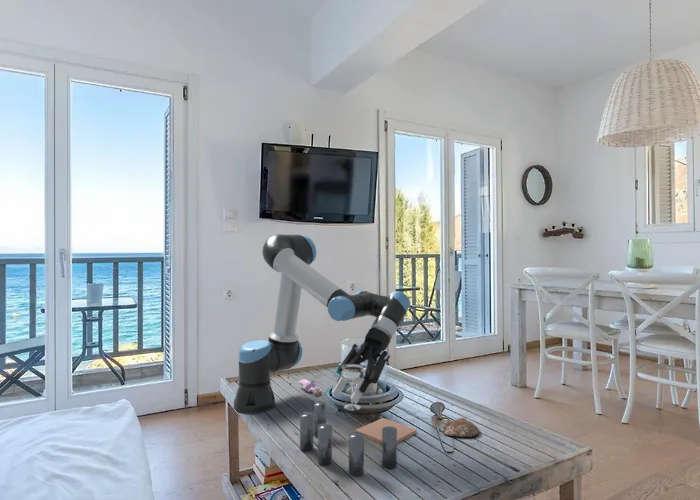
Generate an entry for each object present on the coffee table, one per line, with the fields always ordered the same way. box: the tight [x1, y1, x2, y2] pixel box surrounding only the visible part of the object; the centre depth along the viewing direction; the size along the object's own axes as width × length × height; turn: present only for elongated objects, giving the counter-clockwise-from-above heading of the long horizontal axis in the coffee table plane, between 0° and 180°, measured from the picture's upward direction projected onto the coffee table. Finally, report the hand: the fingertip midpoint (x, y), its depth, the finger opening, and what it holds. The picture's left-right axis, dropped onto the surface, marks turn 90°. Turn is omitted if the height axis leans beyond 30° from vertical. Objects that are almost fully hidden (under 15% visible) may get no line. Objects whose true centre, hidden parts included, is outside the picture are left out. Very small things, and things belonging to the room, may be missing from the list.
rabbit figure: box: [297, 379, 325, 398], centre depth 181 cm, size 6×6×15 cm
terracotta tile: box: [354, 417, 417, 445], centre depth 142 cm, size 14×14×1 cm
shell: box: [442, 417, 480, 439], centre depth 144 cm, size 12×13×4 cm
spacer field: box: [299, 400, 398, 478], centre depth 126 cm, size 32×15×10 cm, turn 47°
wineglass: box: [340, 364, 365, 411], centre depth 130 cm, size 7×7×12 cm
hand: (344, 397), depth 128 cm, fingers closed on wineglass, 7 cm apart
